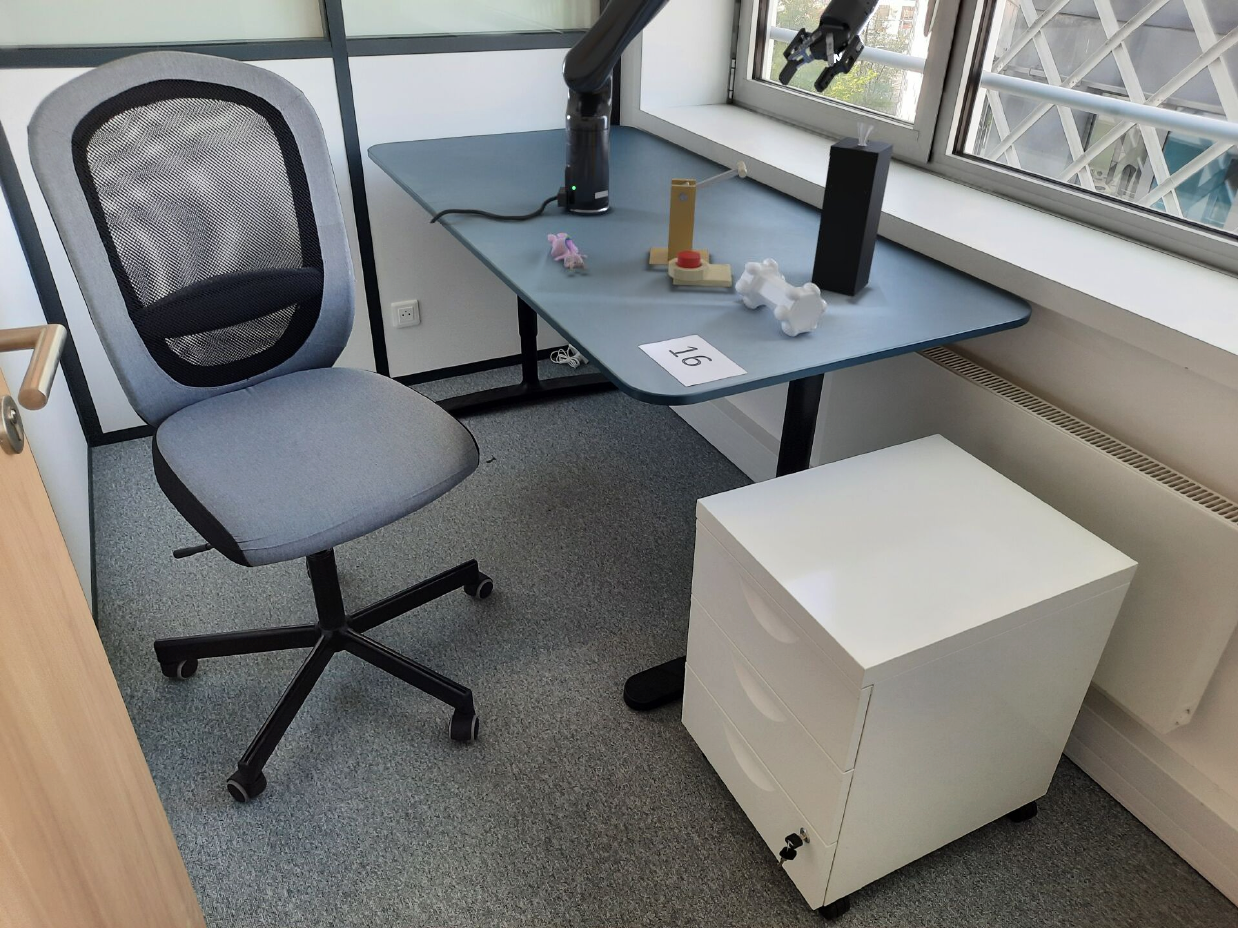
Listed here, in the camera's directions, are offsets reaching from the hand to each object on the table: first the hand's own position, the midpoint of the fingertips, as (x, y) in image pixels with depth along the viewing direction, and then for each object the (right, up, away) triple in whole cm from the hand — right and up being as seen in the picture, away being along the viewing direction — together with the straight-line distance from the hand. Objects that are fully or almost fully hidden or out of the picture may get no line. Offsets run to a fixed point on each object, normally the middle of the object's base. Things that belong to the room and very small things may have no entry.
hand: (799, 86), depth 155 cm
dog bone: (-6, -43, -12) cm, 45 cm away
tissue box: (+7, -36, 0) cm, 37 cm away
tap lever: (-15, -17, +2) cm, 23 cm away
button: (-20, -32, -2) cm, 38 cm away
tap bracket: (-21, -29, +10) cm, 37 cm away
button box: (-17, -35, +1) cm, 39 cm away
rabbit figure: (-42, -29, +9) cm, 52 cm away
